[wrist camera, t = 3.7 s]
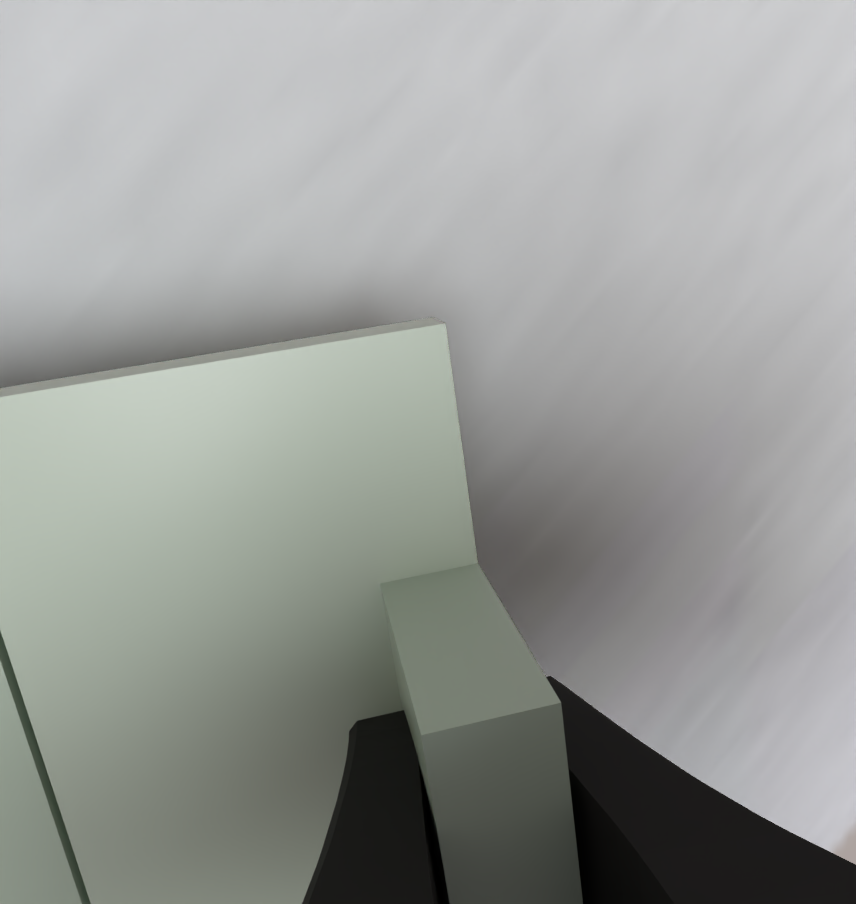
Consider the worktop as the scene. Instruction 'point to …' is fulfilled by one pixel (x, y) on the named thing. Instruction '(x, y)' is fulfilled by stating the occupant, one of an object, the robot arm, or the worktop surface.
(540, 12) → the worktop surface
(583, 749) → the robot arm
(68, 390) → the lid
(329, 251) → the worktop surface
